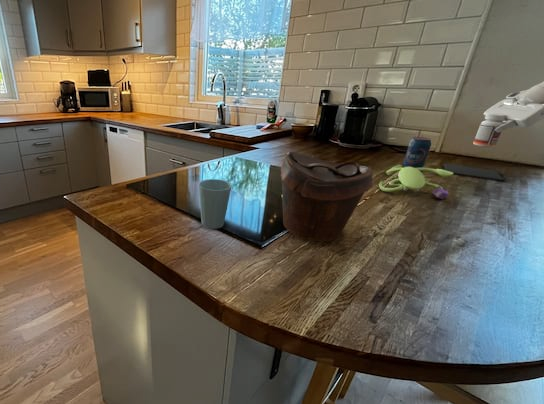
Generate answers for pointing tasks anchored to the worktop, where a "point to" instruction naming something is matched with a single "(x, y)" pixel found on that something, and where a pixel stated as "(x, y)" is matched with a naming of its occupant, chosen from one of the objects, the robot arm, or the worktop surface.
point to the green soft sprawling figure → (415, 180)
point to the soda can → (417, 152)
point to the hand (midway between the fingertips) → (488, 129)
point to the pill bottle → (489, 130)
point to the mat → (473, 172)
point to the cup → (214, 202)
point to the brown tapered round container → (320, 195)
